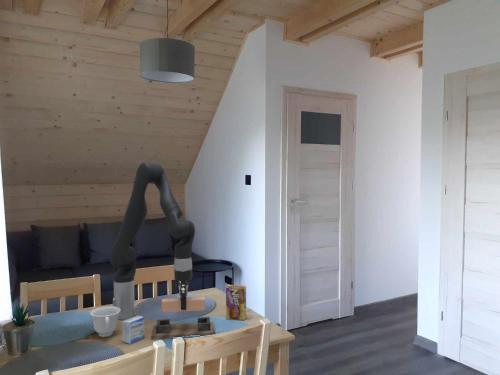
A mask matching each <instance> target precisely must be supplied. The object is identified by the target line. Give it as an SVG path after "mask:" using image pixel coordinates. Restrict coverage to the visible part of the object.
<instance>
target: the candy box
mask: <svg viewBox="0 0 500 375" xmlns="http://www.w3.org/2000/svg"><path fill="white" fill-rule="evenodd" d="M225 304H226V305H225V310H226V311H225V312H226V315H225V317H226V320H234V321H235V320H238V321H239V320H240V321H245V320H246V318H247V285H244V284H243V285H241V284H227V285H226V286H225Z"/></svg>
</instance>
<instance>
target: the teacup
mask: <svg viewBox="0 0 500 375" xmlns="http://www.w3.org/2000/svg"><path fill="white" fill-rule="evenodd" d="M119 312H120V308H118V307H114V306H113V305H112V306H111V305H109V306H101V307H97V308H94V309H92V310H91V311H90V312H89V314H90V315H91V317H92V322H93V324H92V325H93V328H94V331H95V332H96V333H97V334H98V337H101V338H107V337H110V336H112V335H113V334H114V332H115V330H117V327H118V321H119V319H118V315H119Z"/></svg>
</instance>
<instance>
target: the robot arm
mask: <svg viewBox="0 0 500 375" xmlns="http://www.w3.org/2000/svg"><path fill="white" fill-rule="evenodd" d="M149 184H152V185H154V186H156V188H157V190H158V191H159V206H160V209H161V210H162V212H163V214H164V215H165V217H166V220H167V225H168V230H169V233H170V235H171V236H172V237H173V238H175V239H181V240H180V241H179V242H178V243H177V244H175V246H174V261H173V271H174V276H173V279H174V280H175V281H178V290H179V292H178V293H179V296H180V297H179V298H180V301H181V310H186V300H187V299H186V298H188V295H189V293H188V292H189V291H188V288H189V282H187V281H191V280H192V279H193V261H192V246H193V242H194V238H195V234H196V227H195V224H194V223H193V222H192V221H191V220H182V221H180V220H179V219H181V218H182V216H183V211H182V209H181V207H180V205H179V203H178V201H177V200H176V198H175V196H174V194H173V192H172V189H171V186H170V183H169V181H168V178H167V176H166V172H165V170H164V168H163V167H162V166H161V165H160V164H158V163H154V162H146V161H145V162H142V163H140V164H139V165H138V167H137V169H136V174H135V177H134V180H133V187H132V191H131V195H130V198H129V201H128V204H127V208H126V209H125V213H124V216H123V219H122V223H121V226H120V227H119V228H120V229H119V231H118V235H117V237H116V239H115V242H114V244H113V246H112V249H111V251H110V253H109V262H110V265H111V266H112V267H113V268H114V269H115V268H116V269H118V270H117V272H115V273H114V274H113V298H112V306H114V307H118V308H120V312H119V315H118V321H119V320H122V321H125V320H127V319H130V318H132V317H135V316H136V315H135V312H136V311H135V276H136V271H137V253H136V251H135V248H134V247H133V246H131V245H132V242H133V240H134V238H135V237H136V236H137V234H138V233H140V232H139V231H140V230H141V229H142V228H143V226H144V223H145V222H146V217H147V214H148V206H147V201H146V192H147V191H146V190H147V187H148V185H149Z"/></svg>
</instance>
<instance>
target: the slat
mask: <svg viewBox="0 0 500 375" xmlns="http://www.w3.org/2000/svg"><path fill="white" fill-rule="evenodd" d="M186 299H187V300H186V310H181V301H180V297H178V298H177V297H176V298H175V297H174V298H171V297H170V298H162V299H161V313H176V312H177V313H178V312H180V313H181V312H194V311H195V312H196V311H206V297H205V296H196V297H195V296H193V297H186Z"/></svg>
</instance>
